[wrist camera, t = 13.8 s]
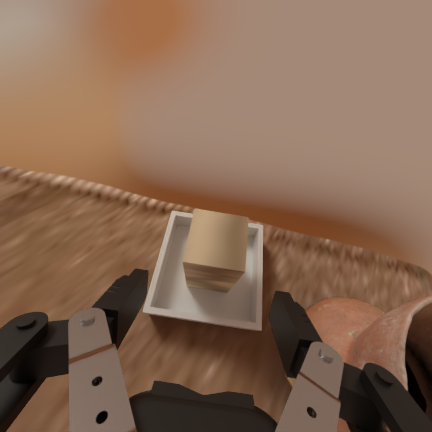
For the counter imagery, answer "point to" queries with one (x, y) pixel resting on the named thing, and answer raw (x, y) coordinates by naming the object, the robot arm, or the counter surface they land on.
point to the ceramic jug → (380, 341)
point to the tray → (201, 298)
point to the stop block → (215, 250)
